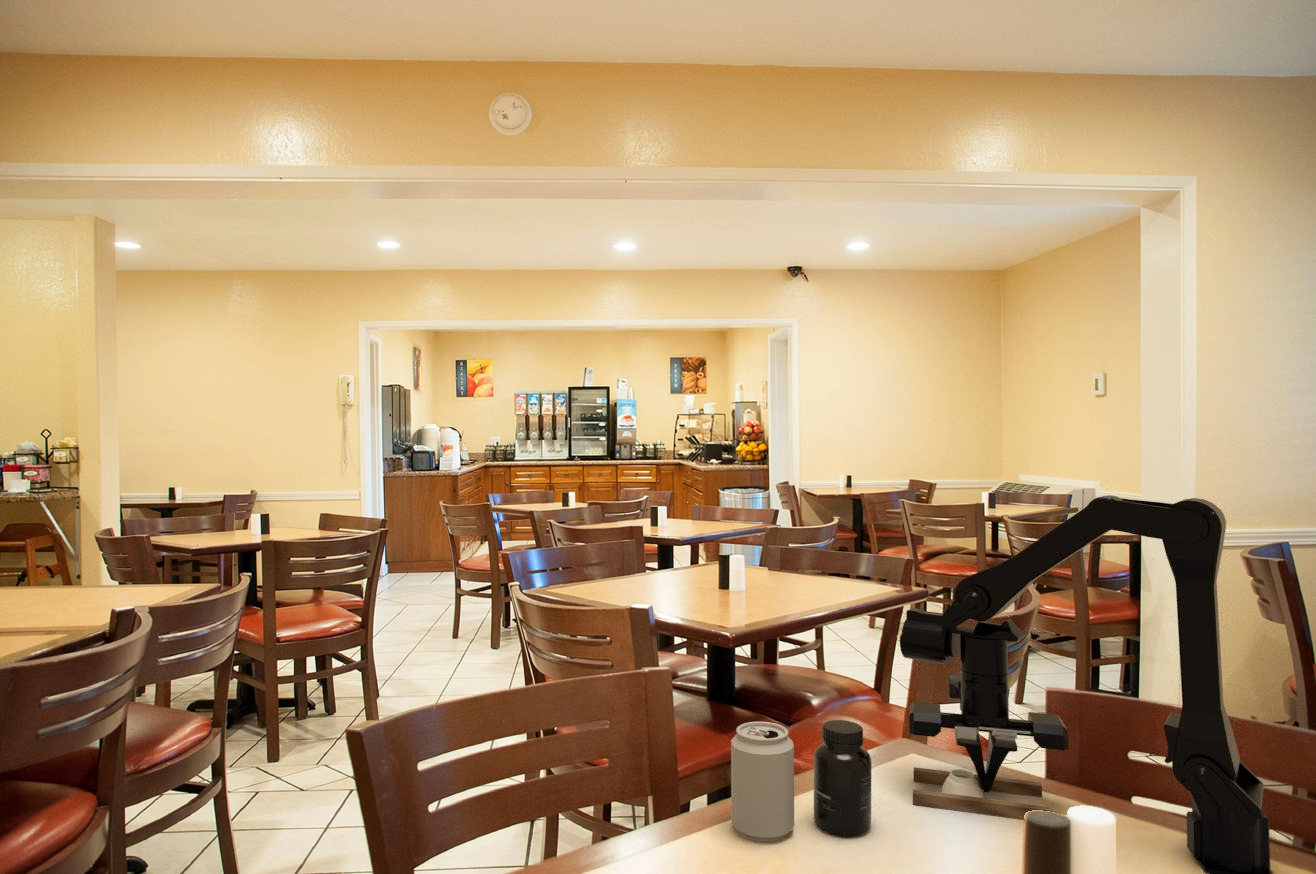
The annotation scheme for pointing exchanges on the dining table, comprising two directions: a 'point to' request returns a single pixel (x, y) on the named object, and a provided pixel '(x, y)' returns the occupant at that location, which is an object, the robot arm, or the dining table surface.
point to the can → (762, 781)
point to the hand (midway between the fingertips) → (986, 791)
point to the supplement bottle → (842, 781)
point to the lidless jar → (962, 784)
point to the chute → (977, 803)
